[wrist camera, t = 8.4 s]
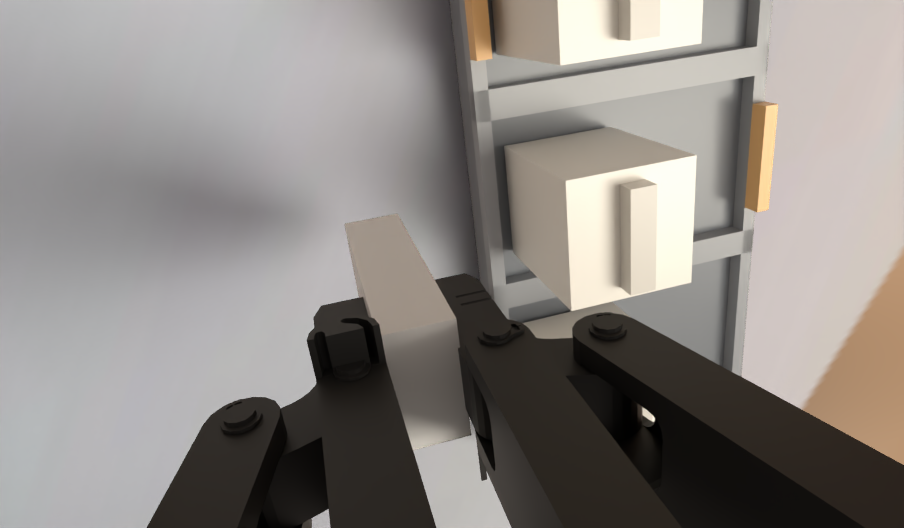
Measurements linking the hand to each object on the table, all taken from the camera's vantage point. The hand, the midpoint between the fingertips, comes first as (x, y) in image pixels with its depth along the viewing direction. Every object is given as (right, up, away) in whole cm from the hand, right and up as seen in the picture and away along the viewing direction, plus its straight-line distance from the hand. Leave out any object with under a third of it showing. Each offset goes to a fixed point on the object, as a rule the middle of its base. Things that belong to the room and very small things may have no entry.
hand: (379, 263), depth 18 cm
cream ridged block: (+6, +3, +5) cm, 8 cm away
